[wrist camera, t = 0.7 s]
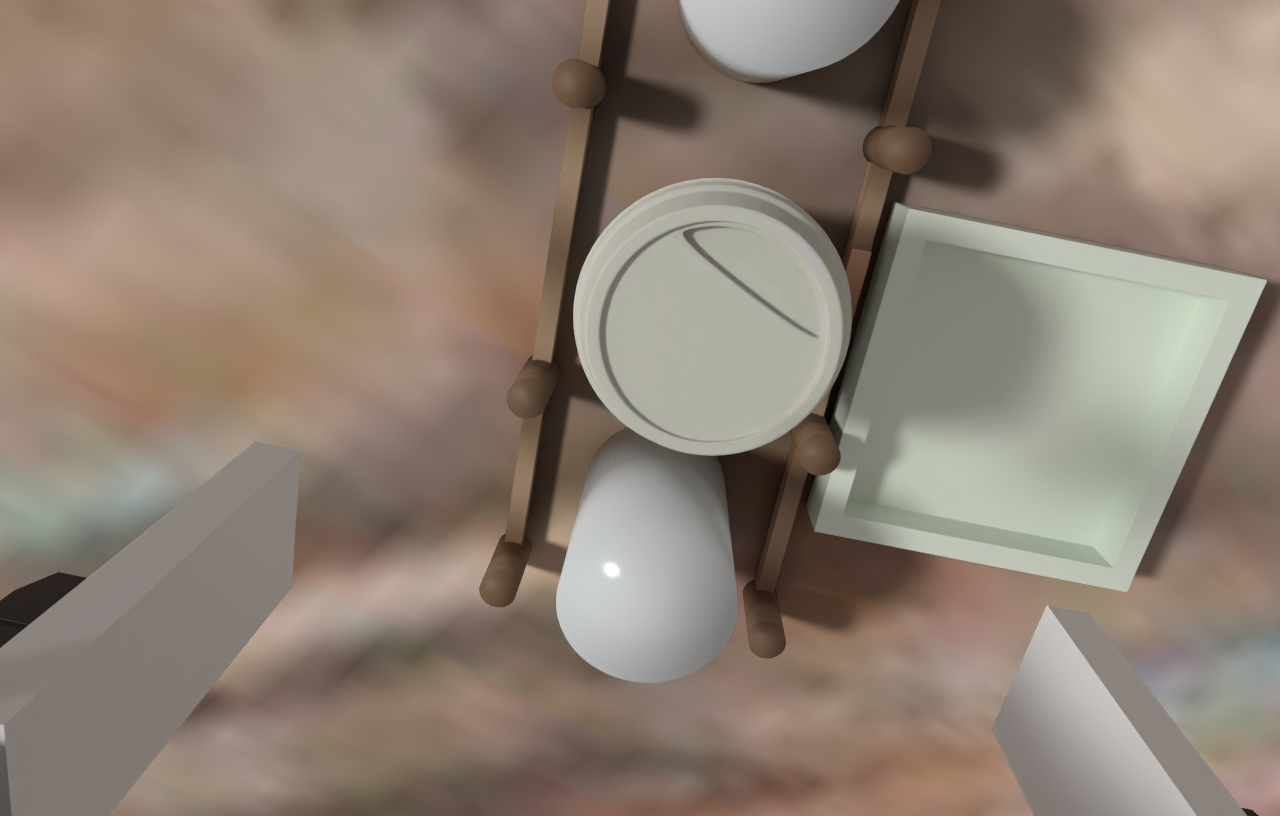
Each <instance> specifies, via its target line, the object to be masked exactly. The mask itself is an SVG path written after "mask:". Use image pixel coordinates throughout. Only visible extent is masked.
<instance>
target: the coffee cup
mask: <svg viewBox="0 0 1280 816" xmlns="http://www.w3.org/2000/svg"><path fill="white" fill-rule="evenodd" d="M851 323H852V307H851V295H850V288H849V283H848V279H847V275H846V272H845V269H844V266H843V263H842V261H841V259H840V256H839V254H838V252H837V250H836V248H835V247H834V245H833V243H832V242H831V240H830V239H829V237H828V236H827V234H826V233H825V232H824V230H823V229H822V228H821V227H820V225H819V224H818V223H817V222H816V221H815V220H814V219H813V218H812V217H811V216H810V215H809V214H808V213H807V212H806V211H804V210H803V209H802V208H801V207H799V206H798V205H797V204H795V203H794V202H793V201H791V200H789V199H788V198H786V197H784V196H783V195H781V194H779V193H777V192H775V191H773V190H770V189H768V188H766V187H763V186H760V185H757V184H754V183H750V182H746V181H741V180H735V179H726V178H704V179H695V180H688V181H684V182H679V183H676V184H672V185H669V186H666V187H664V188H661V189H659V190H656V191H654V192H652V193H650V194H648V195H646V196H644V197H643V198H641V199H639V200H638V201H636V202H635V203H633V204H632V205H630V206H629V207H628V208H626V209H625V210H624V211H623V212H622V213H620V214H619V215H618V216H617V217H616V218H615V219H614V220H613V221H612V222H611V223H610V224H609V225H608V226H607V227H606V229H605V230H604V231H603V232H602V234H601V235H600V236H599V238H598V239H597V241H596V242H595V244H594V245H593V247H592V249H591V250H590V252H589V254H588V256H587V258H586V260H585V262H584V265H583V267H582V270H581V273H580V276H579V279H578V283H577V287H576V292H575V298H574V308H573V325H574V335H575V341H576V345H577V350H578V354H579V357H580V361H581V364H582V367H583V369H584V372H585V374H586V376H587V378H588V380H589V382H590V384H591V386H592V388H593V389H594V391H595V392H596V394H597V395H598V397H599V398H600V400H601V401H602V402H603V403H604V405H605V406H606V407H607V408H608V409H609V410H610V411H611V413H612V414H613V415H615V416H616V417H617V418H618V419H619V420H620V421H621V422H622V423H624V424H625V425H626V426H627V427H629V428H630V429H632V430H633V431H635V432H636V433H638V434H639V435H641V436H643V437H645V438H647V439H649V440H651V441H653V442H655V443H657V444H659V445H661V446H664V447H667V448H669V449H672V450H675V451H679V452H684V453H688V454H695V455H707V456H717V455H729V454H736V453H741V452H745V451H749V450H753V449H755V448H758V447H760V446H763V445H765V444H768V443H770V442H772V441H774V440H776V439H777V438H779V437H781V436H783V435H784V434H786V433H787V432H789V431H790V430H791V429H793V428H794V427H796V426H797V425H798V424H799V423H800V422H801V421H803V420H804V419H805V418H806V417H807V416H808V415H809V414H810V413H811V412H812V411H813V410H814V409H815V408H816V407H817V406H818V405H819V404H820V402H821V401H822V400H823V399H824V397H825V396H826V395H827V393H828V392H829V390H830V389H831V387H832V385H833V384H834V382H835V380H836V379H837V376H838V374H839V372H840V370H841V368H842V365H843V362H844V360H845V357H846V353H847V350H848V346H849V341H850V335H851Z"/></svg>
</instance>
